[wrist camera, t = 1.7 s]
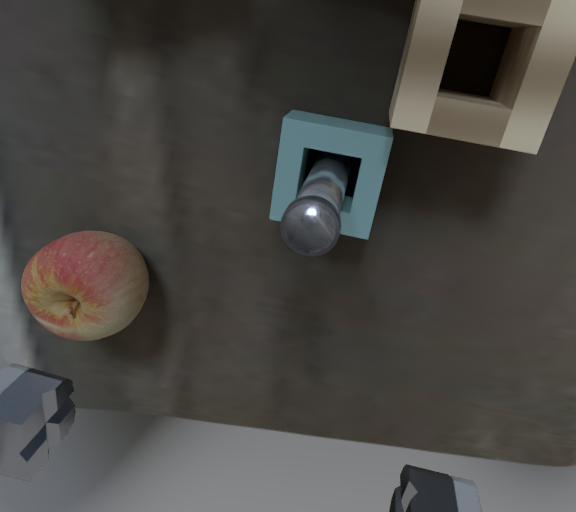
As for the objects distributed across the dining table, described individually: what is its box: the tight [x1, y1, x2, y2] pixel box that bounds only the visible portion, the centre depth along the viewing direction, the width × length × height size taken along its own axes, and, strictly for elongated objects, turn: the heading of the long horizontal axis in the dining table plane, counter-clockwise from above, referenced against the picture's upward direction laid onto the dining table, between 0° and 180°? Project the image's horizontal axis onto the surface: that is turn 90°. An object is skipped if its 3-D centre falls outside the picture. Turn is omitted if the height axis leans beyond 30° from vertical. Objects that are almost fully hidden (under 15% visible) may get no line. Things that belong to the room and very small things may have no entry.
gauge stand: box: [269, 110, 393, 240], centre depth 32 cm, size 7×7×4 cm
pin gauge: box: [280, 151, 350, 257], centre depth 28 cm, size 3×3×12 cm
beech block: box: [389, 0, 576, 155], centre depth 26 cm, size 8×8×6 cm
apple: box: [21, 231, 149, 341], centre depth 37 cm, size 9×9×8 cm
